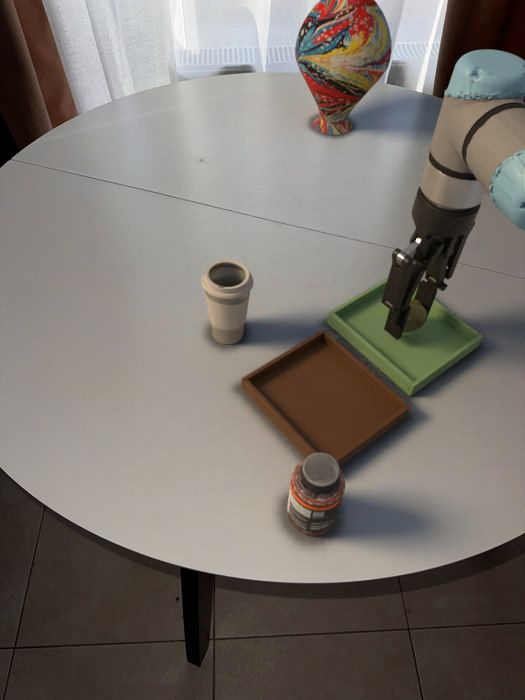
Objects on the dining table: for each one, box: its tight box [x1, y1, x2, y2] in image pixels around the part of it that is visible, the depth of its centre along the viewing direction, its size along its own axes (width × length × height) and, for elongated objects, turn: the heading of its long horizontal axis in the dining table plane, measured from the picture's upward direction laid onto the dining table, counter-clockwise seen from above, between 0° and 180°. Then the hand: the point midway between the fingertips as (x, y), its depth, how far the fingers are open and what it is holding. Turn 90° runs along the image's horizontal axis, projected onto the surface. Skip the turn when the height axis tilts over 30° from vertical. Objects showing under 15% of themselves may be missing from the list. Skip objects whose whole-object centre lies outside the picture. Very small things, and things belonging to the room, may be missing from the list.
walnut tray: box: [240, 328, 412, 468], centre depth 79 cm, size 17×15×2 cm
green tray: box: [326, 277, 484, 397], centre depth 87 cm, size 17×15×2 cm
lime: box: [403, 299, 427, 333], centre depth 85 cm, size 4×5×5 cm
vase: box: [294, 0, 393, 136], centre depth 115 cm, size 19×19×30 cm
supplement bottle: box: [286, 452, 346, 536], centre depth 65 cm, size 6×6×11 cm
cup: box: [201, 258, 255, 345], centre depth 82 cm, size 7×7×12 cm
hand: (405, 324), depth 86 cm, fingers closed on lime, 5 cm apart
